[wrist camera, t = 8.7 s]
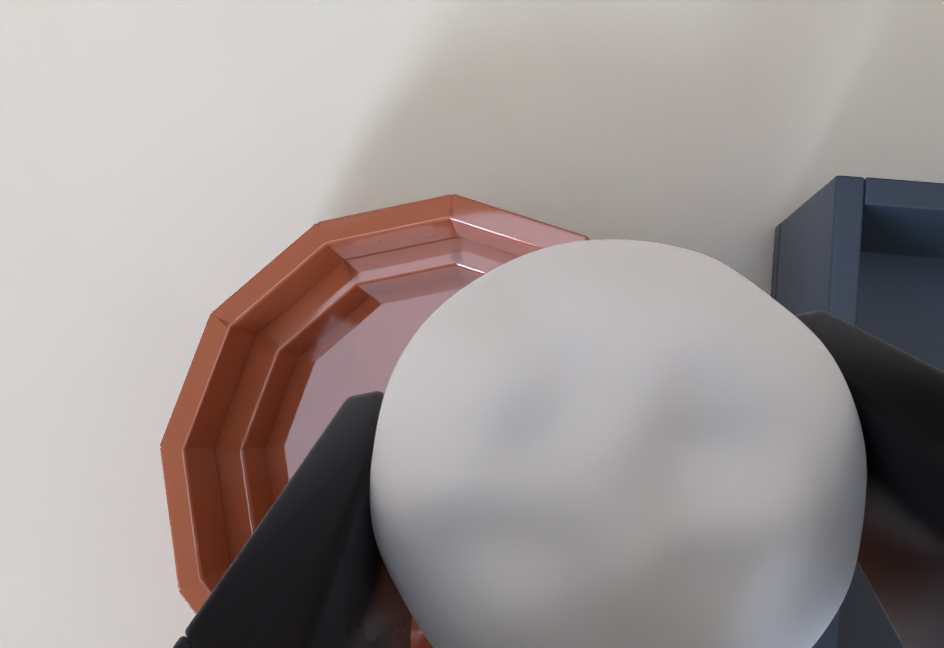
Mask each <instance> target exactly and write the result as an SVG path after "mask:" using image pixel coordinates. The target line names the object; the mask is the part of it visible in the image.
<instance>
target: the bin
mask: <svg viewBox="0 0 944 648" xmlns="http://www.w3.org/2000/svg"><path fill="white" fill-rule="evenodd" d="M771 297H772V298H773V299H774V300H776V301H777V302H778V303H780V304H781V305H782V306H783V307H785V308H786V309H787V310H788V311H790V312H791V313H792V314H793V315H794V314H800V313H805V312H811V311H816V310H823V311H827V312H829V313H831V314H833V315H835V316H837V317H839V318H841V319H843V320H845V321H847V322H849V323H851V324H853V325H855V326H857V327H859V328H861V329H862V330H864V331H866V332H868V333H870V334H872V335H874V336H876V337H878V338H880V339H882V340H884V341H886V342H888V343H890V344H892V345H894V346H896V347H897V348H899V349H901V350H903V351H905V352H907V353H909V354H911V355H913V356H915V357H917V358H919V359H921V360H923V361H925V362H927V363H929V364H931V365H933V366H934V367H936V368H938V369H940V370H942V371H944V183H932V182H919V181H906V180H894V179H881V178H865V179H864V178H862V177H851V176H836V177H835V178H834V179H833V180H831V181H830V182H829V183H828V184H827V185H825V186H824V187H823V188H822V189H821V190H820V191H818V192H817V193H816V194H815V195H814V196H812V197H811V198H810V199H809V200H808V201H807V202H805V203H804V204H803V205H802V206H801V207H799V208H798V209H797V210H796V211H795V212H794V213H792V214H791V215H790V216H789V217H788V218H786V219H785V220H784V221H783V222H782V223H780V224H779V225H778V226H777V227H776V230H775V245H774V259H773V274H772V289H771ZM812 648H903V646H902V644H901V642H900V640H899V638H898V636H897V635H896V633H895V631H894V629H893V627H892V625H891V623H890V622H889V620H888V618H887V616H886V614H885V612H884V610H883V608H882V607H881V605H880V603H879V601H878V599H877V597H876V595H875V593H874V592H873V590H872V588H871V586H870V584H869V582H868V580H867V579H866V577H865V575H864V573H863V571H862V569H861V567H860V565H859V564H858V562H856V566H855V571H854V574H853V578H852V581H851V584H850V586H849V589H848V591H847V594H846V596H845V598H844V600H843V602H842V604H841V606H840V608H839V610H838V611H837V613H836V615H835V616H834V618H833V619H832V621H831V622H830V624H829V625H828V627H827V628H826V630H825V631H824V633H823V634H822V635H821V637H820V638H819V639H818V641H817V642H816V643H815V644H814V646H813V647H812Z"/></svg>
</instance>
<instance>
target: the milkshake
mask: <svg viewBox="0 0 944 648" xmlns="http://www.w3.org/2000/svg"><path fill="white" fill-rule="evenodd" d="M866 484H867V463H866V451H865V444H864V438H863V432H862V428H861V424H860V420H859V416H858V413H857V410H856V407H855V403H854V401H853V398H852V395H851V393H850V390H849V388H848V385H847V383H846V381H845V379H844V377H843V375H842V373H841V371H840V369H839V367H838V365H837V363H836V362H835V360H834V358H833V357H832V355H831V354H830V352H829V351H828V350H827V348H826V347H825V346H824V344H823V343H822V342H821V341H820V340H819V339H818V337H817V336H816V335H815V334H814V333H813V332H812V331H811V330H810V329H809V328H808V327H807V326H806V325H805V324H804V323H803V322H801V321H800V320H799V319H798V318H797V317H796V316H795V315H793V314H792V313H791V312H790V311H788V310H787V309H786V308H785V307H783V306H782V305H781V304H780V303H778V302H777V301H776V300H774V299H773V298H772V297H771V296H769V295H768V294H767V293H765V292H764V291H763V290H762V289H760V288H759V287H758V286H756V285H755V284H754V283H752V282H751V281H749V280H748V279H747V278H745V277H744V276H742V275H741V274H739V273H738V272H736V271H735V270H733V269H732V268H730V267H728V266H727V265H725V264H723V263H721V262H719V261H717V260H715V259H714V258H711V257H709V256H707V255H704V254H701V253H698V252H696V251H692V250H689V249H685V248H681V247H677V246H672V245H667V244H662V243H656V242H649V241H640V240H625V239H600V240H586V241H577V242H570V243H564V244H559V245H555V246H551V247H547V248H543V249H540V250H537V251H534V252H531V253H528V254H526V255H523V256H520V257H518V258H516V259H513V260H511V261H509V262H507V263H505V264H503V265H501V266H499V267H497V268H495V269H493V270H492V271H490V272H488V273H486V274H485V275H483V276H481V277H479V278H478V279H476V280H475V281H473V282H471V283H470V284H468V285H467V286H465V287H464V288H463V289H461V290H460V291H458V292H457V293H456V294H454V295H453V296H452V297H450V298H449V299H448V300H447V301H446V302H444V303H443V304H442V305H441V306H440V307H439V308H438V309H437V310H436V311H435V312H434V313H433V314H431V315H430V317H429V318H428V319H427V320H426V321H425V322H424V323H423V324H422V326H421V327H420V328H419V329H418V331H417V332H416V333H415V335H414V336H413V337H412V339H411V340H410V342H409V343H408V345H407V346H406V348H405V350H404V351H403V353H402V355H401V357H400V358H399V360H398V362H397V364H396V366H395V368H394V370H393V373H392V375H391V377H390V380H389V383H388V385H387V388H386V391H385V394H384V398H383V401H382V405H381V409H380V413H379V418H378V423H377V428H376V434H375V441H374V448H373V455H372V463H371V472H370V512H371V521H372V527H373V532H374V536H375V540H376V543H377V546H378V549H379V551H380V554H381V557H382V559H383V561H384V564H385V566H386V568H387V570H388V572H389V574H390V576H391V578H392V580H393V582H394V584H395V585H396V587H397V589H398V591H399V593H400V595H401V597H402V598H403V600H404V602H405V604H406V606H407V607H408V609H409V611H410V613H411V614H412V616H413V618H414V619H415V621H416V623H417V624H418V626H419V628H420V629H421V631H422V632H423V634H424V635H425V637H426V638H427V640H428V641H429V643H430V644H431V645H432V647H433V648H812V647H813V646H814V644H815V643H816V642H817V641H818V639H819V638H820V637H821V635H822V634H823V633H824V631H825V630H826V628H827V627H828V625H829V624H830V622H831V621H832V619H833V618H834V616H835V615H836V613H837V611H838V610H839V608H840V606H841V604H842V602H843V600H844V598H845V596H846V594H847V591H848V589H849V586H850V584H851V581H852V578H853V574H854V571H855V566H856V562H857V557H858V552H859V546H860V540H861V534H862V527H863V519H864V510H865V499H866Z"/></svg>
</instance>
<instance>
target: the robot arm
mask: <svg viewBox="0 0 944 648" xmlns="http://www.w3.org/2000/svg"><path fill="white" fill-rule="evenodd" d="M794 315H795V316H796V317H797V318H798V319H799V320H800V321H801V322H803V323H804V324H805V325H806V326H807V327H808V328H809V329H810V330H811V331H812V332H813V333H814V334H815V335H816V336H817V337H818V339H819V340H820V341H821V342H822V343H823V344H824V346H825V347H826V348H827V350H828V351H829V352H830V354H831V355H832V357H833V358H834V360H835V362H836V363H837V365H838V367H839V369H840V371H841V373H842V375H843V377H844V379H845V381H846V383H847V385H848V388H849V390H850V393H851V395H852V398H853V401H854V403H855V407H856V410H857V413H858V416H859V420H860V424H861V428H862V432H863V438H864V444H865V451H866V463H867V484H866V499H865V510H864V519H863V527H862V534H861V540H860V546H859V552H858V557H857V562H858V564H859V565H860V567H861V569H862V571H863V573H864V575H865V577H866V579H867V580H868V582H869V584H870V586H871V588H872V590H873V592H874V593H875V595H876V597H877V599H878V601H879V603H880V605H881V607H882V608H883V610H884V612H885V614H886V616H887V618H888V620H889V622H890V623H891V625H892V627H893V629H894V631H895V633H896V635H897V636H898V638H899V640H900V642H901V644H902V646H903V648H944V371H942V370H940V369H938V368H936V367H934V366H933V365H931V364H929V363H927V362H925V361H923V360H921V359H919V358H917V357H915V356H913V355H911V354H909V353H907V352H905V351H903V350H901V349H899V348H897V347H896V346H894V345H892V344H890V343H888V342H886V341H884V340H882V339H880V338H878V337H876V336H874V335H872V334H870V333H868V332H866V331H864V330H862V329H861V328H859V327H857V326H855V325H853V324H851V323H849V322H847V321H845V320H843V319H841V318H839V317H837V316H835V315H833V314H831V313H829V312H827V311H823V310H816V311H811V312H805V313H800V314H794ZM383 398H384V394H383V393H382V392H380V391H375V392H370V393H364V394H359V395H353V396H350V397H349V398H347V399H346V400H345V401H344V403H343V404H342V406H341V407H340V409H339V410H338V411H337V413H336V414H335V416H334V417H333V419H332V420H331V421H330V423H329V424H328V426H327V427H326V429H325V430H324V432H323V433H322V434H321V436H320V437H319V439H318V440H317V442H316V443H315V444H314V446H313V447H312V449H311V450H310V452H309V453H308V455H307V456H306V457H305V459H304V460H303V462H302V463H301V465H300V466H299V467H298V469H297V470H296V472H295V473H294V475H293V476H292V478H291V479H290V480H289V482H288V483H287V485H286V486H285V488H284V489H283V490H282V492H281V493H280V495H279V496H278V498H277V499H276V501H275V502H274V503H273V505H272V506H271V508H270V509H269V511H268V512H267V514H266V515H265V516H264V518H263V519H262V521H261V522H260V524H259V525H258V526H257V528H256V529H255V531H254V532H253V534H252V535H251V537H250V538H249V539H248V541H247V542H246V544H245V545H244V547H243V548H242V549H241V551H240V552H239V554H238V555H237V557H236V558H235V560H234V561H233V562H232V564H231V565H230V567H229V568H228V570H227V571H226V572H225V574H224V575H223V577H222V578H221V580H220V581H219V583H218V584H217V585H216V587H215V588H214V590H213V591H212V593H211V594H210V595H209V597H208V598H207V600H206V601H205V603H204V604H203V606H202V607H201V608H200V610H199V611H198V613H197V614H196V616H195V617H194V618H193V620H192V621H191V623H190V624H189V626H188V627H187V629H186V631H185V634H186V636H187V637H185V636H182V637H180V638H179V640H178V641H177V642H176V644H175V645H174V647H173V648H410V647H411V626H412V614H411V613H410V611H409V609H408V607H407V606H406V604H405V602H404V600H403V598H402V597H401V595H400V593H399V591H398V589H397V587H396V585H395V584H394V582H393V580H392V578H391V576H390V574H389V572H388V570H387V568H386V566H385V564H384V561H383V559H382V557H381V554H380V551H379V549H378V546H377V543H376V540H375V536H374V532H373V527H372V521H371V512H370V472H371V463H372V455H373V448H374V441H375V434H376V428H377V423H378V418H379V413H380V409H381V405H382V401H383Z"/></svg>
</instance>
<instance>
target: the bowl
mask: <svg viewBox="0 0 944 648" xmlns="http://www.w3.org/2000/svg"><path fill="white" fill-rule="evenodd" d="M586 240H590V239H589V238H587V237H586V236H584V235H581V234H578V233H575V232H572V231H568V230H565V229H562V228H559V227H556V226H553V225H550V224H546V223H543V222H540V221H537V220H534V219H531V218H528V217H525V216H521V215H518V214H515V213H512V212H509V211H506V210H503V209H499V208H496V207H493V206H490V205H487V204H484V203H481V202H478V201H474V200H471V199H468V198H465V197H462V196H459V195H456V194H454V195H446V196H441V197H436V198H431V199H427V200H422V201H417V202H412V203H407V204H402V205H398V206H393V207H388V208H383V209H378V210H374V211H369V212H364V213H359V214H354V215H350V216H345V217H340V218H335V219H330V220H326V221H321V222H319V223H317V224H315V225H313V226H312V227H311V228H310V229H309V230H308V231H306V232H305V233H304V234H303V235H302V236H301V237H299V238H298V239H297V240H296V241H295V242H294V243H292V244H291V245H290V246H289V247H288V248H287V249H285V250H284V251H283V252H282V253H281V254H280V255H278V256H277V257H276V258H275V259H274V260H273V261H271V262H270V263H269V264H268V265H267V266H266V267H264V268H263V269H262V270H261V271H260V272H259V273H258V274H256V275H255V276H254V277H253V278H252V279H251V280H249V281H248V282H247V283H246V284H245V285H244V286H242V287H241V288H240V289H239V290H238V291H237V292H235V293H234V294H233V295H232V296H231V297H230V298H228V299H227V300H226V301H225V302H224V303H223V304H221V305H220V306H219V307H218V308H217V309H216V310H214V311H213V313H212V314H210V316H209V319H208V322H207V324H206V327H205V329H204V332H203V335H202V337H201V340H200V343H199V345H198V348H197V350H196V353H195V356H194V358H193V361H192V363H191V366H190V369H189V371H188V374H187V376H186V379H185V382H184V384H183V387H182V389H181V392H180V395H179V397H178V400H177V403H176V405H175V408H174V410H173V413H172V416H171V418H170V421H169V423H168V426H167V429H166V431H165V434H164V436H163V439H162V442H161V444H160V446H161V449H160V450H161V457H162V465H163V473H164V480H165V488H166V496H167V503H168V511H169V519H170V526H171V534H172V542H173V549H174V557H175V564H176V572H177V580H178V587H179V590H180V591H179V592H180V594H181V595H182V596H183V598H184V599H185V600H186V602H187V603H188V604H189V606H190V607H191V608H192V610H193V611H194V612H195V614H197V613H198V611H199V610H200V608H201V607H202V606H203V604H204V603H205V601H206V600H207V598H208V597H209V595H210V594H211V593H212V591H213V590H214V588H215V587H216V585H217V584H218V583H219V581H220V580H221V578H222V577H223V575H224V574H225V572H226V571H227V570H228V568H229V567H230V565H231V564H232V562H233V561H234V560H235V558H236V557H237V555H238V554H239V552H240V551H241V549H242V548H243V547H244V545H245V544H246V542H247V541H248V539H249V538H250V537H251V535H252V534H253V532H254V531H255V529H256V528H257V526H258V525H259V524H260V522H261V521H262V519H263V518H264V516H265V515H266V514H267V512H268V511H269V509H270V508H271V506H272V505H273V503H274V502H275V501H276V499H277V498H278V496H279V495H280V493H281V492H282V490H283V489H284V488H285V486H286V485H287V483H288V482H289V480H290V479H291V478H292V476H293V475H294V473H295V472H296V470H297V469H298V467H299V466H300V465H301V463H302V462H303V460H304V459H305V457H306V456H307V455H308V453H309V452H310V450H311V449H312V447H313V446H314V444H315V443H316V442H317V440H318V439H319V437H320V436H321V434H322V433H323V432H324V430H325V429H326V427H327V426H328V424H329V423H330V421H331V420H332V419H333V417H334V416H335V414H336V413H337V411H338V410H339V409H340V407H341V406H342V404H343V403H344V401H345V400H346V399H347V398H349V397H350V396H353V395H359V394H364V393H370V392H375V391H380V392H382V393H383V394H385V391H386V388H387V385H388V383H389V380H390V377H391V375H392V373H393V370H394V368H395V366H396V364H397V362H398V360H399V358H400V357H401V355H402V353H403V351H404V350H405V348H406V346H407V345H408V343H409V342H410V340H411V339H412V337H413V336H414V335H415V333H416V332H417V331H418V329H419V328H420V327H421V326H422V324H423V323H424V322H425V321H426V320H427V319H428V318H429V317H430V315H431V314H433V313H434V312H435V311H436V310H437V309H438V308H439V307H440V306H441V305H442V304H443V303H444V302H446V301H447V300H448V299H449V298H450V297H452V296H453V295H454V294H456V293H457V292H458V291H460V290H461V289H463V288H464V287H465V286H467V285H468V284H470V283H471V282H473V281H475V280H476V279H478V278H479V277H481V276H483V275H485V274H486V273H488V272H490V271H492V270H493V269H495V268H497V267H499V266H501V265H503V264H505V263H507V262H509V261H511V260H513V259H516V258H518V257H520V256H523V255H526V254H528V253H531V252H534V251H537V250H540V249H543V248H547V247H551V246H555V245H559V244H564V243H570V242H577V241H586ZM410 648H433V647H432V645H431V644H430V643H429V641H428V640H427V638H426V637H425V635H424V634H423V632H422V631H421V629H420V628H419V626H418V624H417V623H416V621H415V619H414V618H413V616H412V626H411V647H410Z"/></svg>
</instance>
